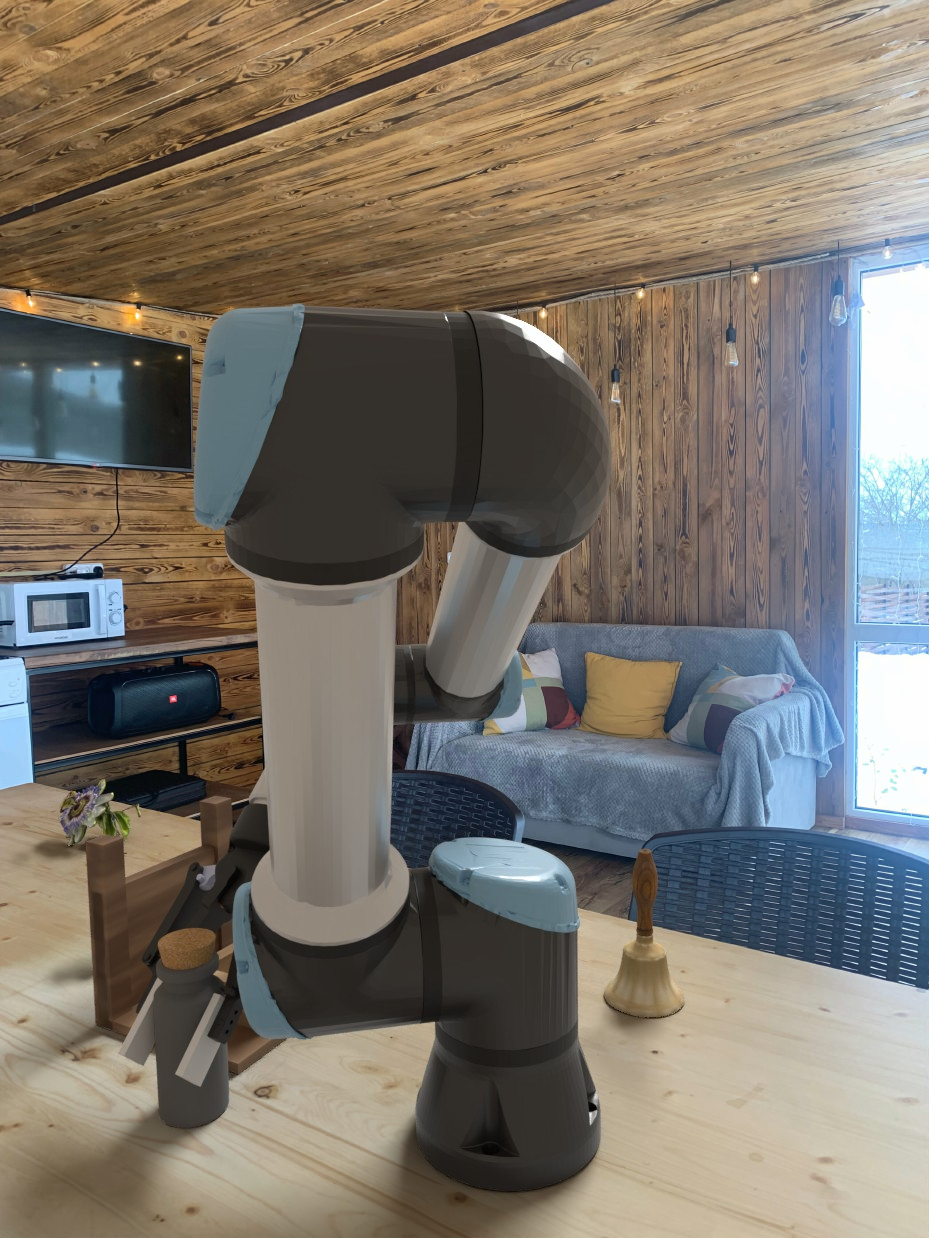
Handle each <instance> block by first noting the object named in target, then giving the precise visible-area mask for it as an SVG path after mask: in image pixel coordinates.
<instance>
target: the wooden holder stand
mask: <svg viewBox="0 0 929 1238" xmlns="http://www.w3.org/2000/svg"><path fill="white" fill-rule="evenodd" d="M232 802H233V801H232V798H231V797H225V796H218V795H214V796H211V797H208V798H205V799H202V800H199V817H200V818H199V819H200V840H201V841H200V842H201V844H200V846H199V847H195V848H193V849H191V850H189V851H186V852H183V853H181V854H179V855H176V856H174V857H172V858H170V859H167V860H164V861H162V862H159V863H157V864H155V865H152V866H150V867H147V868H146V869H145V868H144V869H142V870H140V871H137V872H135V873H133V874H130V875H128V876H126V865H125V845H124V844H125V843H124V842H125V841H124V839H123V837H120V836H117V837H116V836H111V835H104V834H103V835H100V836H98V837H95V838H93V839H88V840H87V841H85V842H84V843H85V858H86V860H85V861H86V875H87V877H86V878H87V892H88V893H87V895H88V909H89V927H90V928H89V929H90V945H91V946H90V947H91V948H90V949H91V965H92V982H93V984H92V985H93V999H94V1019H95V1025H96V1026H98V1027H100V1028H104V1029H105V1030H109V1031H112V1032H115V1033H119V1034H120V1035H124V1036H126V1037H127V1035H128V1033H129V1031H130V1029H131V1027H132V1025H133V1024H134V1022H135V1020H136V1018H137V1016H138V1014H137V1013H136V1009H137V1005H138V1004H139V1002H140V1000H141V998H142V996H143V994H144V992H145V990H146V988H147V986H148V985H149V983H150V981H151V979H152V971H151V970H150V969H149V968H148V966H147V965H145V964H144V963H143V962H142V956H143V954H144V953H145V951H146V949H147V947H148V946H149V944H150V942H151V941H152V939H153V937H154V935H155V934H156V932H157V930H158V929H159V927H160V925H161V924H162V922H163V920H164V918H165V917H166V915H167V913H168V912H169V910H170V908H171V906H172V905H173V903H174V901H175V900H176V898H177V896H178V894H179V893H180V891H181V889H182V888H183V886H184V883H185V880H186V876H187V873H188V869H189V867H190V865H191V864H192V863H194V862H198V863H200V864H201V865H202V866H211V865H216V864H217V862H218V861H219V860H220V859H221V858H222V857H223V856H224V855H225V854H226V853H227V851H228V849H229V836H230V833H231V831H232V829H233V828H234V825H233V803H232ZM215 883H216V881H215V882H214V884H215ZM214 884H213V885H214ZM217 904H218V906H219V907H221V908H224V907H223V906H222V905H221V904H219V902H218V903H217ZM215 935H216V939H215V945H214V951H216V952H217V954H218V955H219V968H218V970H217V971H216V972H215V973H214V974H213V975H215V976H217V977H219V978H220V979H221V980H222V981H223V983H224V986H225V985H226V981H227V976H228V972H229V967H230V963H231V959H232V954H233V950H234V947H233V918H232V919H231V920H230V921H229V922H227V923H224V924H223V925H222V926H221V927H220V929H219V930H218V931H217V932H216V934H215ZM225 996H226V995H225ZM285 1040H287V1038H282V1039H267V1038H264V1037H262V1036H260V1035H258V1034H257V1033H256V1032H255V1031H254V1030H253V1029H252V1027H251V1026H250V1024H249V1022H248V1020H247V1018H246V1015H245V1012H244V1009H243V1011H242V1013H241V1015H240V1017H239V1020H238V1022H237V1024H236V1026H235V1028H234V1030H233V1033H232V1035H231V1037H230V1039H229V1040H228V1041H227V1050H228V1072H231V1073H234V1074H236V1075H240V1074H241V1073H242V1072H243V1071H245V1070H246V1069H247V1068H249V1067H250V1066H252V1065H253V1064H255V1063H256V1062H257V1061H258V1060H259V1059H261V1058H263V1057H264V1056H265V1055H266V1054H268V1053H269V1052H270V1051H272V1050H273V1049H274V1048H276V1047H277V1046H278V1045H279V1044H281V1043H283V1042H284V1041H285ZM154 1046H155V1044H154Z"/></svg>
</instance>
